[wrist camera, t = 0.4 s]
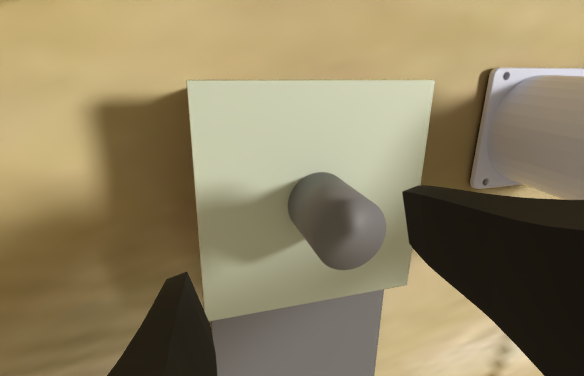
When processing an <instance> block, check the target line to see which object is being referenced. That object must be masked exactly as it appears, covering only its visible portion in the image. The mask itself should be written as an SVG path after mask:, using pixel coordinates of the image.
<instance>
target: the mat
mask: <svg viewBox="0 0 584 376" xmlns="http://www.w3.org/2000/svg"><path fill="white" fill-rule="evenodd" d="M383 293H384V289H383V290H378V291H372V292H367V293H361V294H356V295H350V296H345V297H339V298H334V299H328V300H323V301H318V302H312V303H307V304H301V305H296V306H290V307H285V308H279V309H274V310H268V311H263V312H258V313H252V314H247V315H241V316H236V317H230V318H225V319H219V320H214V321H211V324H212V337H213V342H214V347H215V352H216V362H217V376H374V373H375V364H376V355H377V346H378V337H379V328H380V319H381V310H382V302H383Z"/></svg>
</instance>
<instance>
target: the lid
mask: <svg viewBox="0 0 584 376" xmlns="http://www.w3.org/2000/svg"><path fill="white" fill-rule="evenodd" d="M186 82H187V95H188V108H189V121H190V134H191V146H192V159H193V172H194V185H195V198H196V211H197V224H198V237H199V250H200V262H201V275H202V288H203V301H204V312H205V314H206V316H207V319H208V321H214V320H219V319H225V318H230V317H236V316H241V315H247V314H252V313H258V312H263V311H268V310H274V309H279V308H285V307H290V306H296V305H301V304H307V303H312V302H318V301H323V300H328V299H334V298H339V297H345V296H350V295H356V294H361V293H367V292H372V291H378V290H383V289H389V288H394V287H399V286H405V285H407V281H408V274H409V267H410V259H411V252H412V246H411V245H410V244H409V239H408V231H407V224H406V216H405V209H404V202H403V194H402V191H405V190H408V189H410V188H413V187H416V186H418V185H420V186H421V179H422V171H423V164H424V157H425V149H426V142H427V135H428V127H429V120H430V113H431V105H432V98H433V91H434V83H435V80H428V79H257V80H186Z"/></svg>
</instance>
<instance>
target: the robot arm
mask: <svg viewBox="0 0 584 376" xmlns="http://www.w3.org/2000/svg"><path fill="white" fill-rule="evenodd" d="M504 73H505V76H504V78H503V75H504ZM483 180H484V182H483ZM482 182H483V183H482ZM523 184H524V185H526V186H529V187H532V188H535V189H537V190H540V191H543V192H546V193H548V194H551V195H554V196H557V197H559V198H562V199H565V200H557V199H534V198H520V197H510V196H500V195H492V194H484V193H477V192H470V191H463V190H456V189H449V188H442V187H434V186H420V185H418V186H416V187H413V188H410V189H408V190H405V191H402V194H403V202H404V209H405V216H406V224H407V231H408V239H409V244H410V245H411V246H412V248H413V249H414V250H415V251H416V252H417V253H418V255H419V256H420V257H421V258H422V259H423V260H424V261H425V262H426V263H427V264H428V265H429V266H430V267H431V268H432V269H433V270H434V271H435V272H437V273H438V274H439V275H440V276H441V277H442V278H444V279H445V280H446V281H447V282H448V283H449V284H451V285H452V286H453V287H454V288H455V289H457V290H458V291H459V292H460V293H461V294H463V295H464V296H465V297H466V298H467V299H469V300H470V301H471V302H472V303H473V304H474V305H476V306H477V307H478V308H479V309H480V310H482V311H483V312H484V313H485V314H486V315H487V316H488V317H489V318H490V319H491V320H492V321H494V322H495V324H496V325H497V326H498V327H499V328H500V329H501V330H502V331H503V332H504V333H505V334H506V335H507V336H508V337H509V338H510V339H511V340H512V341H513V342H514V343H515V344H516V345H517V346H518V347H519V348H520V350H521V351H522V352H523V353H524V354H525V355H526V356H527V357H528V358H529V359H530V360H531V362H532V363H533V364H534V365H535V366H536V367H537V368H538V369H539V370H540V371H541V372H542V374H543V375H544V376H584V68H498V67H497V68H494V69H493V70H492V71H491V73H490V75H489V81H488V86H487V92H486V97H485V103H484V108H483V114H482V119H481V124H480V130H479V135H478V141H477V146H476V152H475V157H474V163H473V168H472V174H471V179H470V185H471V187H473V188H475V189H485V188H494V187H504V186H513V185H523ZM107 376H217V362H216V352H215V347H214V342H213V337H212V332H211V327H210V323H209V321H208V319H207V316H206V314H205V312H204V309H203V307H202V305H201V303H200V300H199V298H198V296H197V293H196V291H195V289H194V286H193V284H192V282H191V280H190V277H189V275H188V273H187V272H185V273H182V274H180V275H177V276H174V277H172V278H169V279H167V280H166V281H165V283H164V285H163V287H162V289H161V290H160V292H159V294H158V296H157V298H156V300H155V301H154V303H153V305H152V307H151V309H150V311H149V312H148V314H147V316H146V318H145V319H144V321H143V323H142V325H141V326H140V328H139V330H138V331H137V333H136V334H135V336H134V337H133V339H132V341H131V342H130V344H129V345H128V347H127V348H126V350H125V351H124V353H123V355H122V356H121V357H120V359H119V360H118V362H117V363H116V365H115V366H114V367H113V369H112V370H111V371H110V373H109V374H108V375H107Z"/></svg>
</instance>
